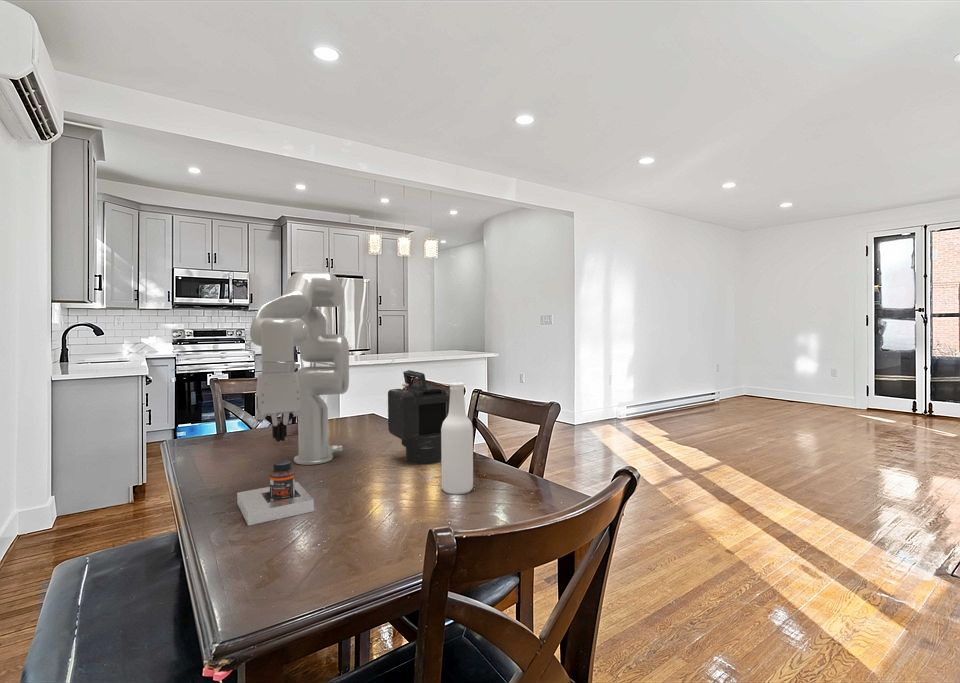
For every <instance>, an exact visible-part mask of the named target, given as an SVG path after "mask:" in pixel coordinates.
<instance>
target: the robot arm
mask: <svg viewBox="0 0 960 683" xmlns="http://www.w3.org/2000/svg"><path fill="white" fill-rule="evenodd" d="M285 286H286V287H285V289H284V291H283V293H282V295H280V296H279V297H276V298H274V299H272V300H270V301H268V302H267V303H264V304H263V305H261V307H259V308H258V309H257V311H256V312H255V314H254V317H253V319H252V321H251V324H250V328H249V338H250V340H251V342H252V343H253V344H254V345H256V346H258V347H261V348H260V349H261V373H259V374H258V375H257V380H256V389H255V390H256V392H255V409H256V413H255V418H256V419H257V420H260V421H267V422H269V424H270V425H271V426H272V428H271V430H272V432H271V433H272V438H273V439H274V440H275V442H277V443H278V442H285V438H286V437H287V434H288V432H287V425H288V424H289V422H290V421H291V420H292V419H294V417H297V427H298V428H297V429H298V430H297V431H298V434H297V435H298V440H297V441H298V454H297V455H295V456H294V457H293V462H294V463H295V464H298V465H304V466H305V465H307V466H310V465H311V466H312V465H319V464H320V465H321V464H324V463H328V462H330V461H332V460H333V459H334V452H343V451H344V450H343V449H344V448H343V445H342V444H341V445H336V444H334V445H330V444H329V421H328V420H329V415H328V414H329V412H328V411H329V410H328V406H327V403H326V402H325V401H324V399H323V398H322V397H321V396H326V395H327V396H328V395H330V396H331V395H343V394H346V393H347V392H348V389H349V386H350V384H349V383H350V348H349V342H348V339H347V337H346V336H344V335H343V334H338V333H336V334H330V333H329V334H328V333H327V320H326V317H325V316H324V315H323V313H322V312H321V311H320V309H318V308H337V307H339V306H341V305H342V304H343V302H344V297H345V295H344V294H345V292H344V288H343V285H342V283H341V282H340V281H339V279H338V277H337V276H336V275H335V274H333V273H331V272H328V271H298V272H295V273H293V274H292V275H291V276H290V277H289V280H288V281H287V284H286V285H285ZM294 347H299V356H300V359H301V360H302V361H303V362H306V363H333V364H334V365H332V366H322V365H321V366H318V365H317V366H314V365H313V366H304V367H301V364H300V363H301V362H296V360H295V351H294V349H295V348H294ZM297 368H298V370H296V369H297ZM295 370H296V371H295ZM279 414H280V415H281V416H280V421H279V422H278V416H277V415H279Z"/></svg>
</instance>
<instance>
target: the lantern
mask: <svg viewBox="0 0 960 683" xmlns="http://www.w3.org/2000/svg"><path fill="white" fill-rule="evenodd" d="M402 373H403V377H404V383H402V385H401V386H402V388H394V389H393V388H392V389H389V390H388V391H387V430H388V432H389V433H390V434H391V435H392V436H394V437H396V438H398V439H400V440H401V446H402V447H405V460H406V462H408V463H409V464H415V465H431V464H436V463H438V462H440V461H441V428H442V424H443V421H444V420H445V419H446V418H447V416H448V413H449V401H450V394H449V395H448V391H447V390H446V389H444V388H441V387H437V386H432V385H429V384H427V381H426V374H425V373H423V372H419V371H414V370H410V369H409V370H405V371H402ZM412 377H414V378H417V379H418V384H413V380H412Z"/></svg>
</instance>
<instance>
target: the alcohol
mask: <svg viewBox="0 0 960 683" xmlns="http://www.w3.org/2000/svg"><path fill="white" fill-rule="evenodd" d="M464 385H465V383H464V382H461V381H453V382H449V396H450V401H449V413H448V416H447V418H446V419H445V420H444V421H443V424H442V428H441V463H440V464H441V489H442V490H443V492H444V493H447V494H449V495H458V496H459V495H466V494H468V493H470V492H471V491H472V490H473V487H474V428H473V427H474V426H473V422H472V421H471V420H470V418H469V417H468V415H467V413H466V402H465V392H464V390H465V387H464Z"/></svg>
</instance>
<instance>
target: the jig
mask: <svg viewBox="0 0 960 683" xmlns="http://www.w3.org/2000/svg"><path fill="white" fill-rule="evenodd" d="M236 500H237V501H236V502H237V506H238V508H239V510H240V512H241V514H242V516H243V519H244V520H245V523H246V524H247V526H254V525H257V524H262V523H267V522H272V521H275V520H281V519H285V518H290V517H295V516H298V515H303V514H308V513H312V512H314V511H315V503H314V502H315V499H314V498H313V497H312V496H311V495H310V493H308V492H307V490H306V489H305V488H304V487H303V486H302V485H301V484H300V483H299V482H298V481H295V498H290V499H285V500H280V501H275V502H270V486H266V487H261V488H256V489H255V488H254V489H250V490H245V491H240V492H237V493H236Z"/></svg>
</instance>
